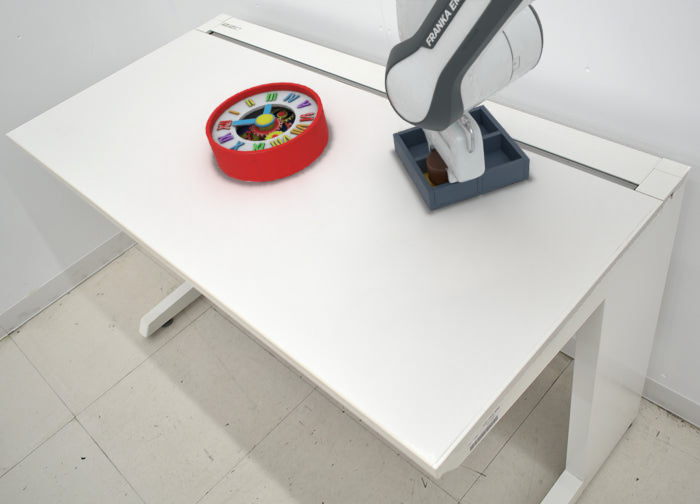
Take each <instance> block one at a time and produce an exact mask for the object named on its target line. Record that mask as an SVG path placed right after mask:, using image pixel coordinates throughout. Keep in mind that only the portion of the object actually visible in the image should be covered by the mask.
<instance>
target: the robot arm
mask: <svg viewBox="0 0 700 504" xmlns="http://www.w3.org/2000/svg"><path fill="white" fill-rule="evenodd" d="M535 1H536V0H395V11H396V13H395V14H396V23H397V32H398V33H397V34H398V38H399V41H400V42H399V43H397V44H395V45H394V46H393V47H392V48H391V49H390V51H389V54H388V58H387V62H386V66H385V72H384V90H385V94H386V97H387V100H388V103H389V105H390V106H391V108H392V110H393V111H394V112H395V113H396V115H397V116H398V117H399V118H401V120H402V121H404V122H406V123H408V124H410V125H412V126H413V127H415V126H417V127H419V128H422V129H423V131H424V132H425V135H426V138H427V141H428V145H429V152H430V153H431V152H433V151H435V150H437V151H438V153H439V154H440V156H441V157H442V159H443V160H444V162H445V163H446V165H447V166H448V168H445V172H446V177H447V179H448V180H449V182H450V183H454V182H457V181H458V182H465V181H468V180H472V179H475V178H477V177H480V176H481V175H482V174H483V173H484V171H485V162H484V150H483V141H482V135H481V131H480V128H479V126H478V124H477V123H476V121H475V120H474V119H473V118H472V116H471V115H470V114H469V113H468V111H470V110H471V109H473V108H475V107H478V106H480V105H482V103H484V102H485V101H487V100H488V99H490V98H492V97H493V96H495V95H496V94H498V93H500V92H501V91H503V90H504V89H506V88H507V87H509V86H510V85H512V84H513V83H515V82H516V81H518V80H519V79H521V78H522V77H524V76H525V75H526V74H528V73H529V72H530V71H531V70H533V69H534V68H535V67H536V66H538V64H539V62H540V60H541V57H542V54H543V51H544V30H543V25H542V21H541V19H540V17H539V14H538V13H537V11H536V9H535V7H533V5H532V3H534V2H535Z"/></svg>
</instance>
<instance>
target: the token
mask: <svg viewBox="0 0 700 504" xmlns="http://www.w3.org/2000/svg"><path fill="white" fill-rule="evenodd" d="M426 161H427V171H428V178H429V180H430V181H431V182H432V183H433V184H435V185H441V184H444V183H448V182H449V180H448V179H447V177H446V172H445V168H448V166H447V165H446V163H445V162H444V160H443V159H442V157H441V156H440V154H439V153H438V151H437V150H435V151H433V152H431V153H430V154H429V155H428V157H427V160H426Z"/></svg>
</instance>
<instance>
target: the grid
mask: <svg viewBox="0 0 700 504" xmlns="http://www.w3.org/2000/svg"><path fill="white" fill-rule="evenodd" d="M468 113H469V114H470V115H471V116H472V118H473V119H474V120H475V121H476V123H477V124H478V126H479V128H480V131H481V135H482V141H483V150H484V162H485V171H484V173H483V174H482V175H481V176H480V177H477V178H475V179H472V180H468V181H465V182H458V181H457V182H454V183H450V182H448V183H444V184H441V185H435V184H433V183H432V182H431V181H430V180H429V178H428V171H427V161H426V160H427V157H428V155H429V154H430V152H429V145H428V141H427V138H426V135H425V132H424V131H423V129H422V128H419V127H417V126H412V127H409V128H406V129H403V130H400V131H398V132H394V133H392V139H393V144H394V151H395V153H396V155H397V157H398V159H399V160H400V162H401V164H402V166H403V167H404V169H405V170H406V172H407V174H408V175H409V177H410V179H411V181H412V183H414V185H415V188H416V190H417V191H418V193H419V194H420V195H421V197H422V199H423V201H424V203H425V204H426V206H427V208H428V209H429V211H431V212H432V211H433V210H437V209H440V208H444V207H447V206H450V205H452V204H455V203H458V202H461V201H464V200H468V199H471V198H473V197H477V196H479V195H483V194H485V193H488V192H492V191H494V190H495V191H496V190H497V189H500V188H504V187H506V186H507V187H508V186H509V185H513V184H515V183H518V182H522V181H524V180H527V179H529V178H530V165H531V159H530V157H529V156H528V155H527V154H526V152H524V150H523V149H522V148H521V146H520V145H519V144H518V143H517V142H516V141H515V140H514V139H513V137H512V136H511V135H510V134H509V133H508V131H507V130H505V128H504V127H503V126H502V125H501V123H500V122H499V121H498V120H497V118H495V117H494V115H493V114H492V113H491V111H490V110H489V109H488V108H487V107H486V106H485V105H484V104H480V105H478V106H476V107H475V108H473V109H471V110H470V111H468Z"/></svg>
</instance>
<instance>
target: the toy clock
mask: <svg viewBox="0 0 700 504" xmlns="http://www.w3.org/2000/svg"><path fill="white" fill-rule="evenodd" d="M204 131H205V135H206V138H207V142H208V143H209V146H210V148H211V151H212V153H213V155H214V156H213V157H214V158H215V161H216V163H217V165H218V167H219V169H220V171H222V173H224V174H225V175H226V176H228V177H229V178H232V179H233V180H237V181H241V182H244V183H245V182H248V183H266V182H272V181H273V182H274V181H277V180H281V179H285V178H287V177H290V176H293V175H295V174H298V173H299V172H301V171H303V170H304V169H307V167H310V165H312V164H313V163H314V162H315V161H317V160H318V159H319V158H320V157H321V155H322V154H323V153H324V151H325V150H326V148H327V146H328V143H329V140H330V132H329V127H328V122H327V119H326V113H325V109H324V105H323V102H322V99H321V97H320V95H319V94H318V93H317V91H315V90H314V89H313V88H312V87H309V86H307V85H303V84H300V83H296V82H287V81H279V82H269V83H262V84H259V85H255V86H252V87H249V88H246V89H243V90H240V91H239V92H236V93H235V94H233V95H231V96H230V97H228V98H226V99H225V100H224V101H222V102H220V104H218V105H217V106H216V107H215V108H214V109H213V111H212V112H211V113H210V115H209V117H208V118H207V120H206V123H205V130H204Z"/></svg>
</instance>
